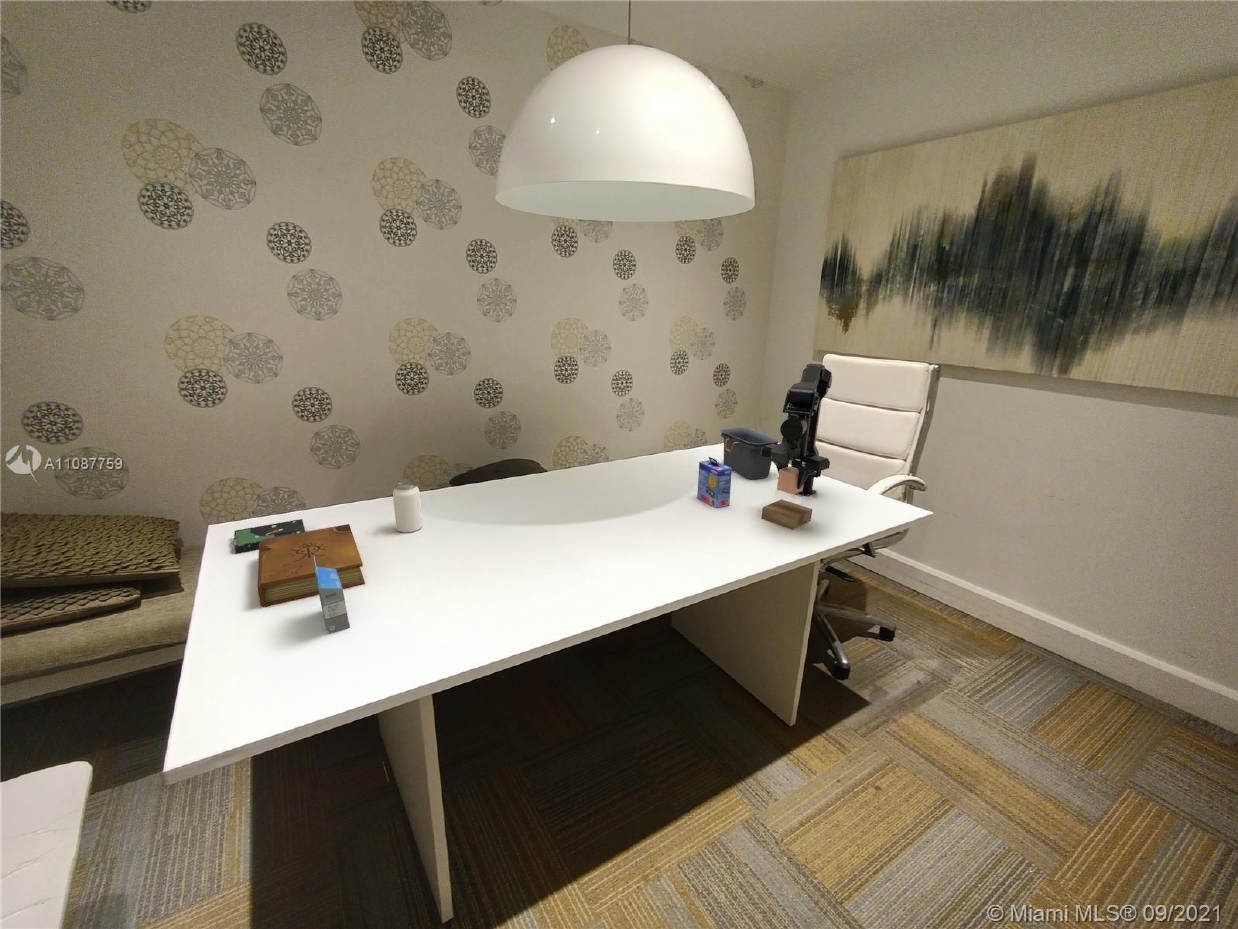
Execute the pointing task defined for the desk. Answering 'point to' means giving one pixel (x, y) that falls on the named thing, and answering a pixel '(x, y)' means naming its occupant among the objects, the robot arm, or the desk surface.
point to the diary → (306, 563)
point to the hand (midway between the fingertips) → (790, 486)
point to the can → (407, 507)
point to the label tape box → (331, 599)
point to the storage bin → (747, 452)
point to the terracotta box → (788, 480)
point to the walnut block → (786, 514)
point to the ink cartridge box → (714, 483)
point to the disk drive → (264, 534)
